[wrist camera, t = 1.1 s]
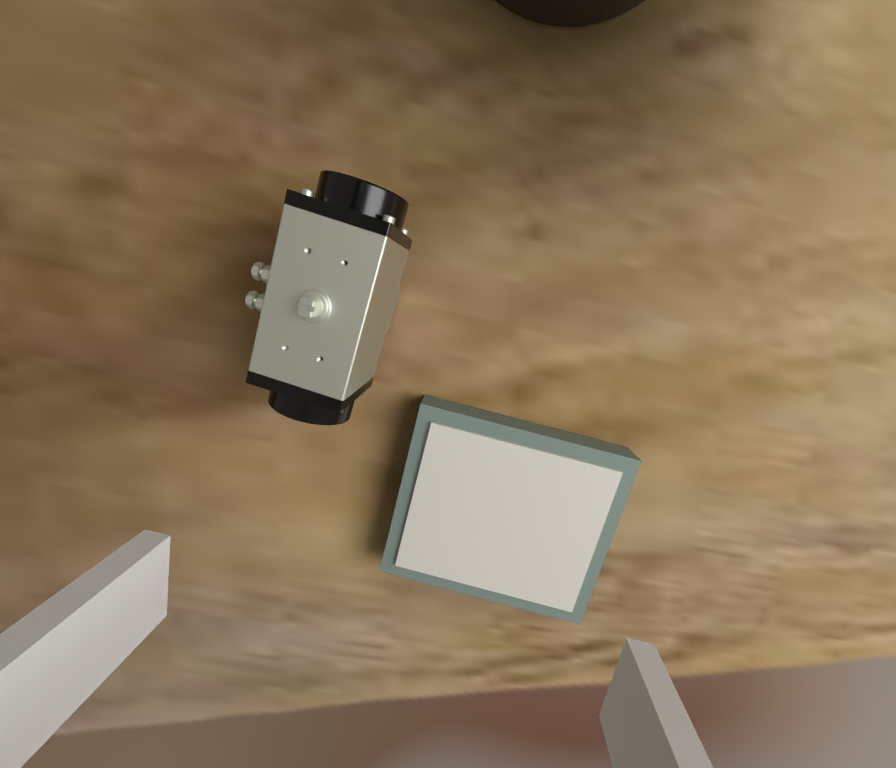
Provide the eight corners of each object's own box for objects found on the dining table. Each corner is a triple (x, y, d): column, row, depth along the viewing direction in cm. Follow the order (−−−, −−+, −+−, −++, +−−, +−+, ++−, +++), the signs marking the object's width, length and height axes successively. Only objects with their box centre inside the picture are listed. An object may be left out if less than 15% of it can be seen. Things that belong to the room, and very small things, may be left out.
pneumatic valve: (429, 227, 29) (396, 180, 17) (381, 390, 31) (324, 449, 19) (349, 201, 29) (261, 137, 17) (308, 367, 31) (207, 411, 19)
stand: (424, 394, 31) (419, 404, 28) (628, 447, 31) (642, 462, 28) (386, 551, 34) (378, 574, 31) (572, 600, 34) (581, 627, 31)
